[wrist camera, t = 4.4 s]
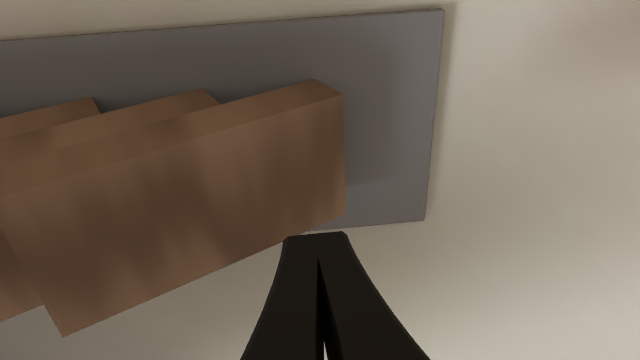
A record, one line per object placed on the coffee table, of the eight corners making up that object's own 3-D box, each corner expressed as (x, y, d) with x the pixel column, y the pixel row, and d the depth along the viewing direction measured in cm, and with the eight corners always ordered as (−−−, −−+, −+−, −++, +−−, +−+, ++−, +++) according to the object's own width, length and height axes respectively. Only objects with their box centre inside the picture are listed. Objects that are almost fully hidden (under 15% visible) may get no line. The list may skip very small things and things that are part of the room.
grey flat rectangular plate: (422, 216, 18) (424, 220, 18) (-64, 260, 17) (-69, 265, 17) (441, 8, 14) (444, 10, 13) (-209, 56, 13) (-218, 59, 13)
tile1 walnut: (346, 213, 16) (62, 337, 12) (321, 192, 17) (56, 298, 13) (342, 94, 13) (-15, 201, 9) (314, 78, 14) (-14, 168, 10)
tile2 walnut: (243, 223, 15) (-77, 352, 12) (225, 201, 17) (-70, 311, 13) (221, 104, 13) (-192, 218, 9) (202, 87, 14) (-172, 183, 10)
